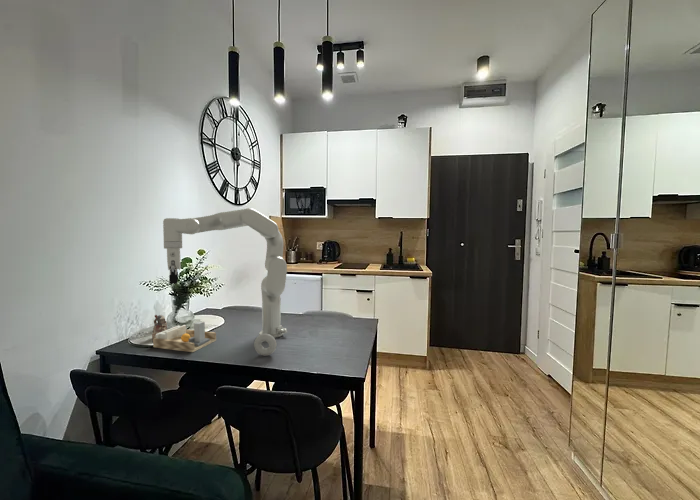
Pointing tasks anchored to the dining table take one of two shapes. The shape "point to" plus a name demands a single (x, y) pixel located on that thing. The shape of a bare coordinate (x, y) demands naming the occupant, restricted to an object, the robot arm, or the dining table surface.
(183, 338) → the ball
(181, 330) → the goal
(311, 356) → the dining table surface
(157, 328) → the figurine
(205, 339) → the striker
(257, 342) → the donut
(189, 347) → the wooden tray
